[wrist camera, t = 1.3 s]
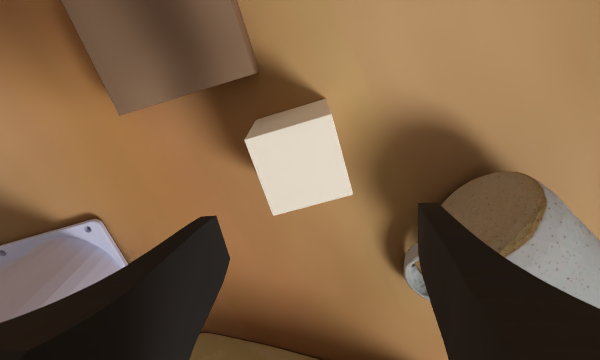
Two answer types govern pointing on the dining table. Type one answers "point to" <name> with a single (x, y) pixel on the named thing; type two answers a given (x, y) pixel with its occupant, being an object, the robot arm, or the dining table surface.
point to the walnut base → (162, 47)
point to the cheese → (238, 350)
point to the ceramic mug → (524, 233)
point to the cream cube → (298, 157)
